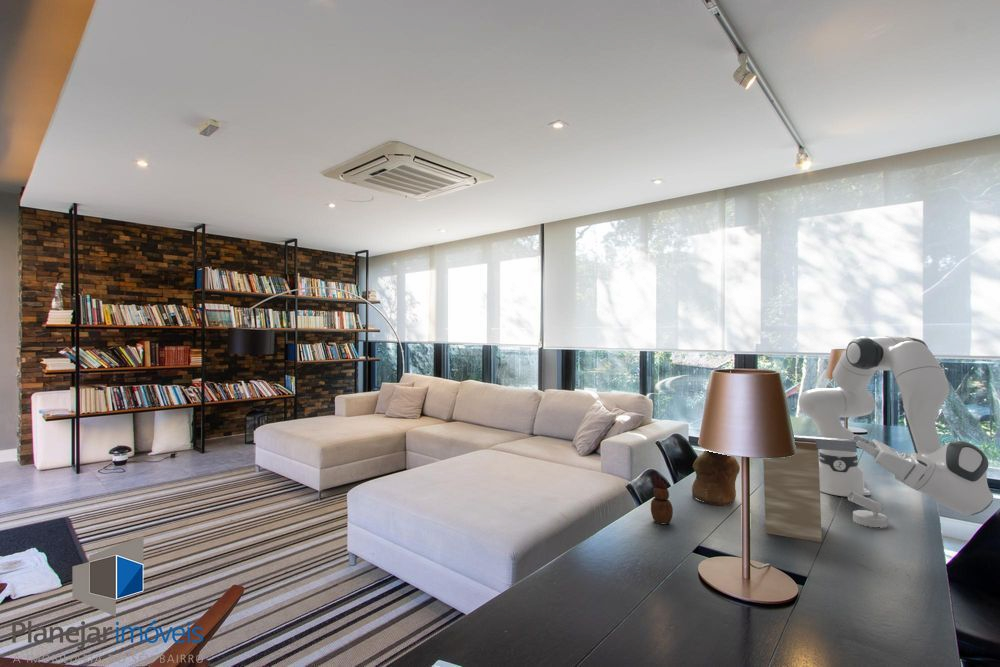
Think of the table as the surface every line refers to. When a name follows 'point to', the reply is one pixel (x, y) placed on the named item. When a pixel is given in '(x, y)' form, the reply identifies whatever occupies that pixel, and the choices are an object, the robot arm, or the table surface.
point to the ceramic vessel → (715, 478)
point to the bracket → (830, 443)
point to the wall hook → (868, 512)
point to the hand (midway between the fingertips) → (855, 439)
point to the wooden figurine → (661, 503)
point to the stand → (793, 494)
